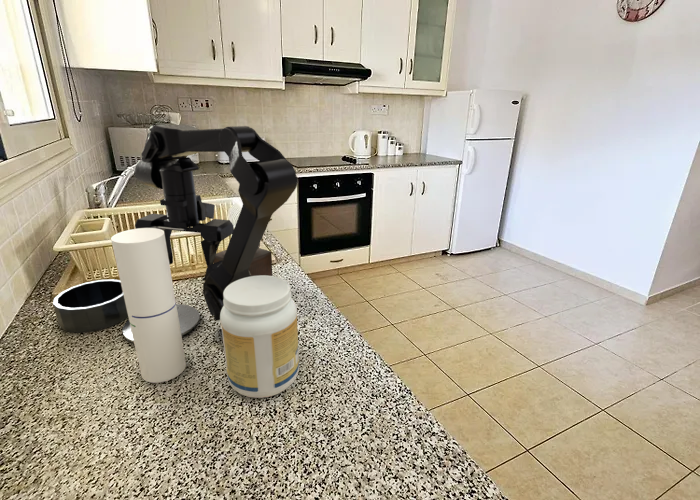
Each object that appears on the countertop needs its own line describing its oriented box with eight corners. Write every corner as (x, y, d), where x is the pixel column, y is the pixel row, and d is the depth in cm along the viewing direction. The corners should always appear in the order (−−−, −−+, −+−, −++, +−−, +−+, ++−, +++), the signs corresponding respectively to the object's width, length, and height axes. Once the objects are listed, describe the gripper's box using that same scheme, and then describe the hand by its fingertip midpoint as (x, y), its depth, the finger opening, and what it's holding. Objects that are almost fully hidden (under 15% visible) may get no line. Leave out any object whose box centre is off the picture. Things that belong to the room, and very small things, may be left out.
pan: (147, 303, 87) (143, 283, 85) (99, 336, 74) (93, 313, 72) (97, 297, 89) (92, 276, 87) (43, 327, 77) (35, 304, 75)
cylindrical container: (169, 385, 62) (142, 245, 53) (131, 379, 63) (99, 240, 54) (194, 359, 68) (174, 230, 59) (159, 353, 70) (134, 226, 61)
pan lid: (213, 312, 84) (209, 278, 81) (172, 351, 70) (165, 311, 67) (155, 304, 86) (149, 271, 83) (105, 341, 73) (95, 302, 70)
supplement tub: (290, 348, 72) (287, 268, 66) (307, 390, 62) (305, 300, 55) (225, 361, 68) (214, 278, 62) (230, 409, 57) (219, 314, 51)
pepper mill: (213, 289, 94) (204, 221, 87) (245, 274, 103) (240, 211, 96) (258, 307, 87) (252, 233, 80) (289, 288, 95) (286, 221, 89)
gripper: (243, 187, 78) (248, 256, 84) (164, 182, 82) (174, 248, 87) (215, 199, 68) (223, 276, 74) (126, 192, 71) (140, 267, 77)
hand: (190, 265), depth 78 cm, fingers open, 9 cm apart
